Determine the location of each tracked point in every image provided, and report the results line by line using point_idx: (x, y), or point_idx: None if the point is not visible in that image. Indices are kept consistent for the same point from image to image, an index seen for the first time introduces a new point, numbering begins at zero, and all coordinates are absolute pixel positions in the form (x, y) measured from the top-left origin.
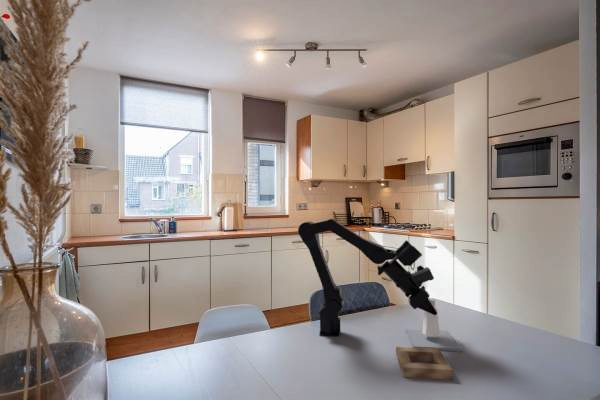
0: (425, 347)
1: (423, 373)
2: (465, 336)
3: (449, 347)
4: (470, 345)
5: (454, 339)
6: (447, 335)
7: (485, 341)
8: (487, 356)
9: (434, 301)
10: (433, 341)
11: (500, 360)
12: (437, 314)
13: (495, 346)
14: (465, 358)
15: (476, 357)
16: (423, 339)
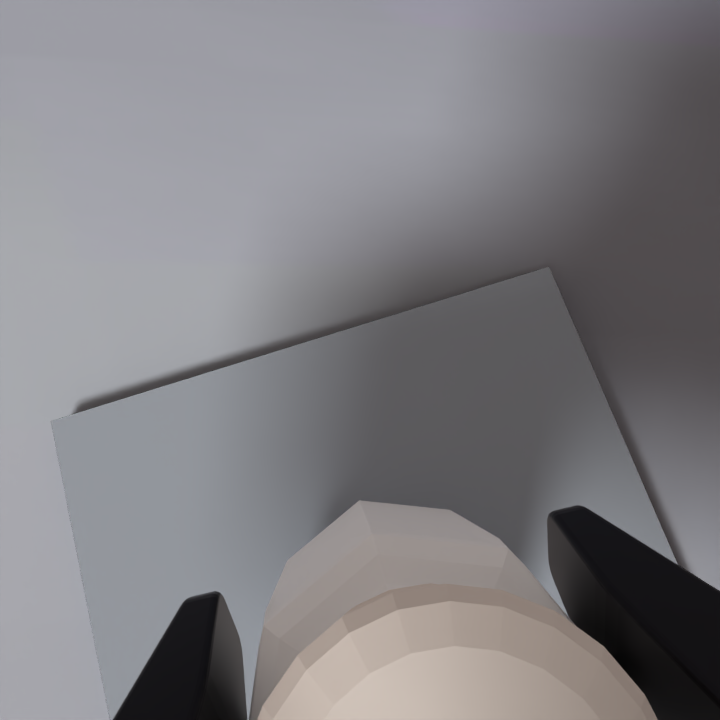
0: None
1: None
2: (102, 245)
3: (583, 389)
4: (342, 206)
5: (315, 342)
6: (216, 419)
7: (176, 81)
8: (540, 87)
9: (564, 623)
10: None
11: (572, 6)
12: (381, 519)
13: (271, 16)
14: (692, 254)
15: (614, 168)
16: None
